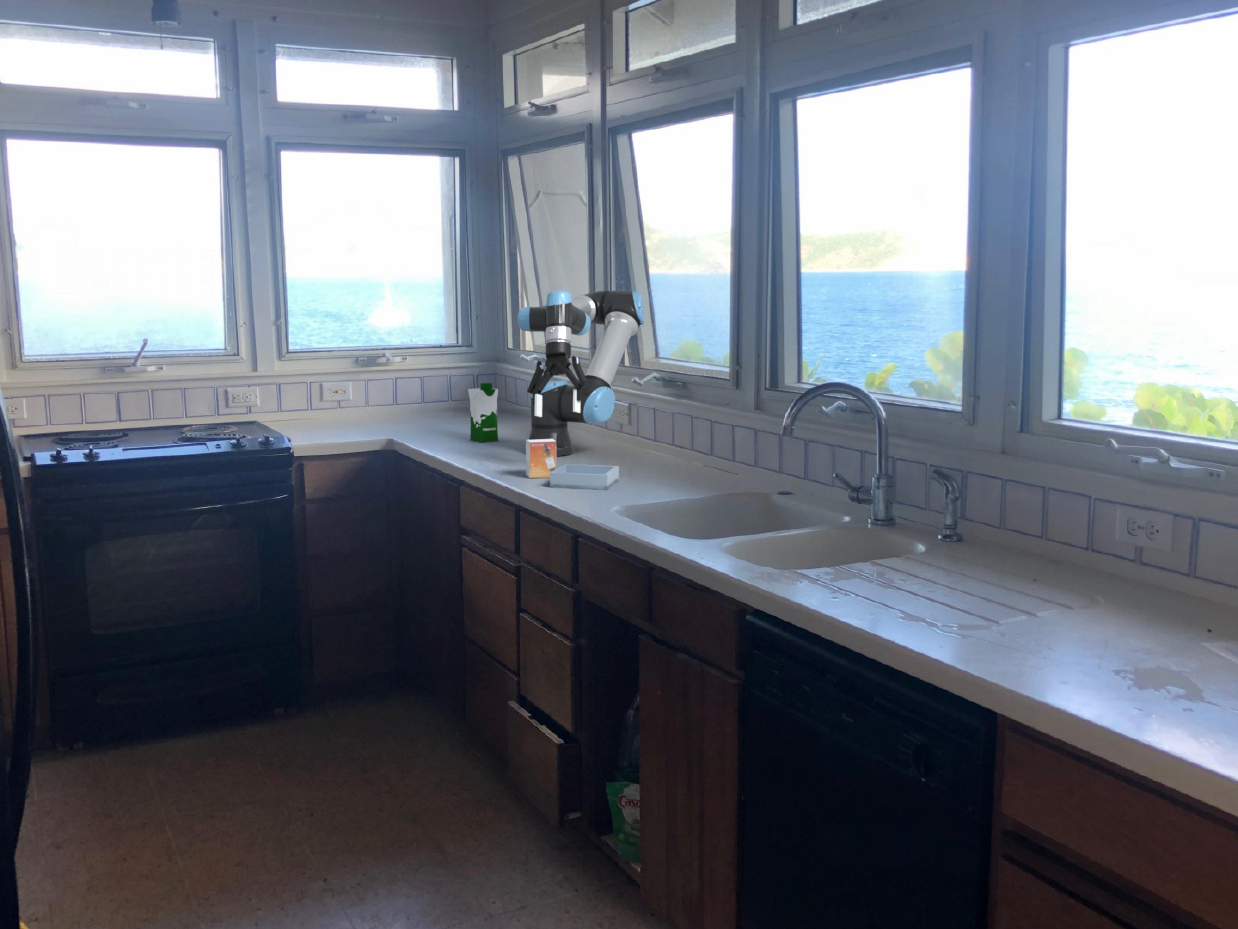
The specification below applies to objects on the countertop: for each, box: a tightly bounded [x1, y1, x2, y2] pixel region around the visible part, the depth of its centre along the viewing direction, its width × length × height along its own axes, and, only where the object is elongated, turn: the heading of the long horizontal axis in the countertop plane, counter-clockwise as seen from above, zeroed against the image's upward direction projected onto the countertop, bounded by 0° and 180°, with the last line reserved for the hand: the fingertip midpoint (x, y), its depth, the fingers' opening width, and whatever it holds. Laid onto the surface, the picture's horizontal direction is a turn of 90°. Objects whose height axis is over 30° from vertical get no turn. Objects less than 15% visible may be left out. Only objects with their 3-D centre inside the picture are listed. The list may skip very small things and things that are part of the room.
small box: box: [525, 439, 558, 479], centre depth 308 cm, size 8×6×10 cm
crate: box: [549, 463, 620, 491], centre depth 298 cm, size 14×16×4 cm
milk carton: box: [467, 382, 499, 443], centre depth 373 cm, size 9×9×20 cm
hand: (557, 414), depth 315 cm, fingers open, 13 cm apart
